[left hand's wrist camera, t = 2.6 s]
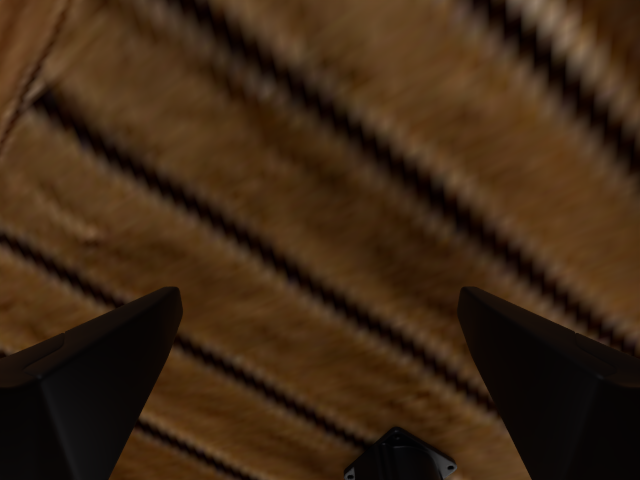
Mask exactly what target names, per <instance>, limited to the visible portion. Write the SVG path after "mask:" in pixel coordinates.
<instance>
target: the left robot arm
mask: <svg viewBox="0 0 640 480" xmlns="http://www.w3.org/2000/svg"><path fill="white" fill-rule="evenodd" d="M182 315H183V308H182V302H181V295H180V291H179V288H177V287H163V288H161V289H159V290H157V291H154V292H152V293H150V294H148V295H145V296H143V297H141V298H139V299H137V300H134V301H132V302H130V303H128V304H125V305H123V306H121V307H119V308H117V309H114V310H112V311H110V312H108V313H106V314H103V315H101V316H99V317H97V318H94V319H92V320H90V321H88V322H86V323H83V324H81V325H79V326H77V327H74V328H72V329H70V330H68V331H66V332H65V333H61V334H59V335H57V336H54V337H52V338H50V339H48V340H45V341H43V342H41V343H38V344H36V345H34V346H32V347H29V348H27V349H24V350H22V351H19V352H17V353H14V354H12V355H10V356H7V357H5V358H2V359H0V480H108V479H109V477H110V475H111V473H112V471H113V469H114V467H115V465H116V463H117V461H118V459H119V457H120V455H121V452H122V450H123V448H124V446H125V444H126V442H127V440H128V438H129V436H130V434H131V432H132V430H133V428H134V426H135V424H136V422H137V420H138V418H139V416H140V414H141V412H142V409H143V407H144V405H145V403H146V401H147V399H148V397H149V395H150V393H151V391H152V389H153V387H154V385H155V383H156V381H157V379H158V377H159V375H160V373H161V371H162V369H163V366H164V364H165V362H166V360H167V358H168V356H169V353H170V350H171V348H172V345H173V342H174V339H175V336H176V333H177V330H178V327H179V324H180V322H181V319H182ZM457 315H458V319H459V322H460V325H461V327H462V330H463V333H464V336H465V339H466V342H467V345H468V348H469V350H470V353H471V356H472V358H473V360H474V362H475V364H476V366H477V369H478V371H479V373H480V375H481V377H482V379H483V381H484V383H485V385H486V387H487V389H488V391H489V393H490V395H491V397H492V399H493V401H494V403H495V405H496V407H497V409H498V412H499V414H500V416H501V418H502V420H503V422H504V424H505V426H506V428H507V430H508V432H509V434H510V436H511V438H512V440H513V442H514V444H515V446H516V448H517V450H518V452H519V455H520V457H521V459H522V461H523V463H524V465H525V467H526V469H527V471H528V473H529V475H530V477H531V479H532V480H640V359H638V358H635V357H633V356H630V355H628V354H626V353H623V352H621V351H618V350H616V349H613V348H611V347H608V346H606V345H604V344H602V343H599V342H597V341H595V340H592V339H590V338H588V337H586V336H583V335H581V334H579V333H575V332H574V331H572V330H570V329H568V328H566V327H563V326H561V325H559V324H557V323H554V322H552V321H550V320H548V319H546V318H543V317H541V316H539V315H537V314H534V313H532V312H530V311H528V310H526V309H523V308H521V307H519V306H517V305H515V304H512V303H510V302H508V301H506V300H503V299H501V298H499V297H497V296H495V295H492V294H490V293H488V292H486V291H483V290H481V289H479V288H477V287H463V288H461V291H460V295H459V302H458V308H457ZM456 469H457V465H456V463H455V460H454V459H452V458H450V457H449V456H447V455H445V454H444V453H442V452H440V451H439V450H437V449H435V448H434V447H432V446H430V445H429V444H427V443H425V442H424V441H422V440H420V439H419V438H417V437H415V436H414V435H412V434H410V433H408V432H407V431H405V430H403V429H402V428H400V427H393V428H392V429H390V430H389V431H388V432H387V433H386V434H385V435H384V436H382V437H381V438H380V439H379V440H378V441H377V442H376V443H374V444H373V445H372V446H371V447H370V448H369V449H368V450H367V451H365V452H364V453H363V454H362V455H361V456H360V457H359V458H357V459H356V460H355V461H354V462H353V463H352V464H351V465H350V466H348V467H347V468H346V469H345V470H344V479H345V480H444V479H445V478H446V477H447V476H449V475H450V474H451V473H452V472H454V471H455V470H456Z"/></svg>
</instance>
